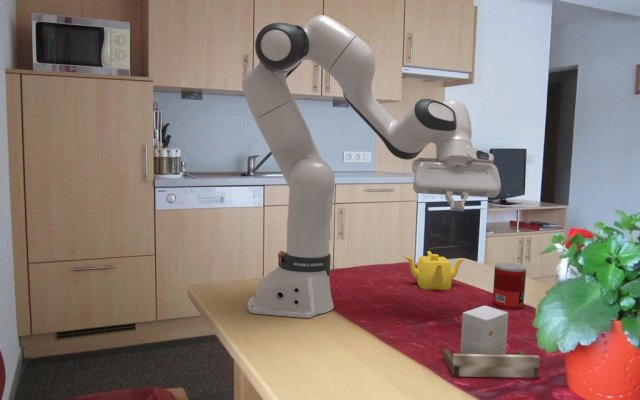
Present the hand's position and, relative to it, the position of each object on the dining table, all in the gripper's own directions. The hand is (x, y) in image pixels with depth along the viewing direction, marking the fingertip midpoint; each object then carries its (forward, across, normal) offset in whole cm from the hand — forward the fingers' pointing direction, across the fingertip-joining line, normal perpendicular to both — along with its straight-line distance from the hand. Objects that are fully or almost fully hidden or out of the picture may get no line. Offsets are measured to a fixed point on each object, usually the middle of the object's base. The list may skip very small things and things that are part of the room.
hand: (457, 209), depth 121 cm
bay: (+36, +4, -2) cm, 36 cm away
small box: (+35, +3, 0) cm, 35 cm away
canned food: (+12, +20, +32) cm, 39 cm away
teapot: (+2, +2, +47) cm, 47 cm away
